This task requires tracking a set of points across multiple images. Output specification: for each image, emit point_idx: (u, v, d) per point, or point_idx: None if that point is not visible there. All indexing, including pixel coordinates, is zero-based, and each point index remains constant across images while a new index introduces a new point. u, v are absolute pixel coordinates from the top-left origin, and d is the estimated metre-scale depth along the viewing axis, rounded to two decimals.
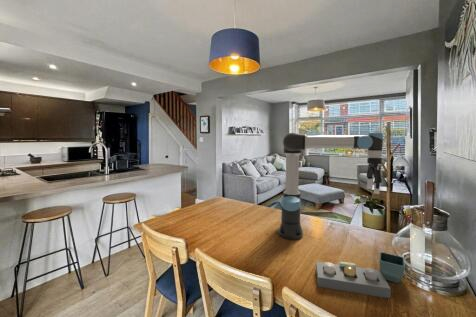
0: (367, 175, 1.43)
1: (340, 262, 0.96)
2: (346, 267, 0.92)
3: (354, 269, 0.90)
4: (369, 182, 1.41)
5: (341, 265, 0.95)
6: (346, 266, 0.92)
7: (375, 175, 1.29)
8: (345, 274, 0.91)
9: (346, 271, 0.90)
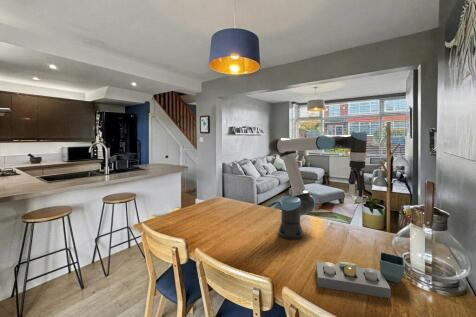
0: (349, 180, 1.26)
1: (340, 262, 0.96)
2: (346, 267, 0.92)
3: (354, 269, 0.90)
4: (351, 188, 1.25)
5: (341, 265, 0.95)
6: (346, 266, 0.92)
7: None
8: (345, 274, 0.91)
9: (346, 271, 0.90)
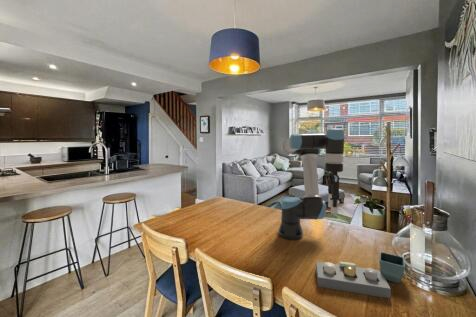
0: (328, 188, 1.07)
1: (340, 262, 0.96)
2: (346, 267, 0.92)
3: (354, 269, 0.90)
4: None
5: (341, 265, 0.95)
6: (346, 266, 0.92)
7: (333, 188, 0.96)
8: (345, 274, 0.91)
9: (346, 271, 0.90)
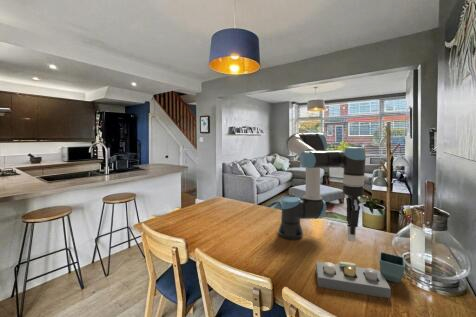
0: (347, 217, 0.92)
1: (340, 262, 0.96)
2: (346, 267, 0.92)
3: (354, 269, 0.90)
4: None
5: (341, 265, 0.95)
6: (346, 266, 0.92)
7: None
8: (345, 274, 0.91)
9: (346, 271, 0.90)
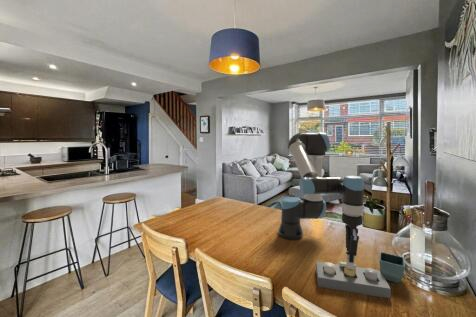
0: (346, 244, 0.93)
1: (340, 262, 0.96)
2: (346, 267, 0.92)
3: (354, 269, 0.90)
4: None
5: (341, 265, 0.95)
6: None
7: (350, 244, 0.88)
8: (345, 274, 0.91)
9: (346, 271, 0.90)
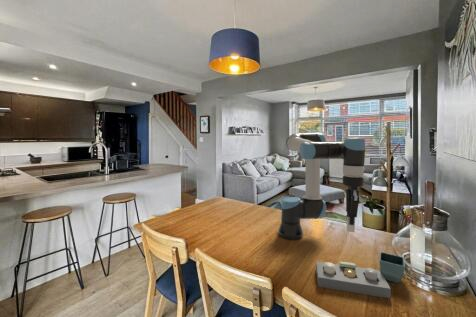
0: (347, 208, 0.92)
1: (340, 262, 0.96)
2: (346, 270, 0.92)
3: (354, 272, 0.90)
4: None
5: (341, 265, 0.95)
6: (346, 269, 0.92)
7: (350, 206, 0.88)
8: None
9: (346, 274, 0.90)
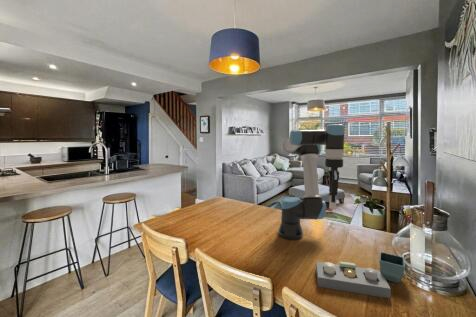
0: (329, 188, 1.03)
1: (340, 262, 0.96)
2: (346, 270, 0.92)
3: (354, 272, 0.90)
4: None
5: (341, 265, 0.95)
6: (346, 269, 0.92)
7: (332, 185, 0.99)
8: None
9: (346, 274, 0.90)
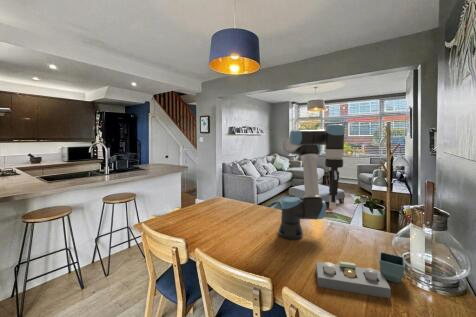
0: (329, 188, 1.03)
1: (340, 262, 0.96)
2: (346, 270, 0.92)
3: (354, 272, 0.90)
4: None
5: (341, 265, 0.95)
6: (346, 269, 0.92)
7: (332, 185, 0.99)
8: None
9: (346, 274, 0.90)
